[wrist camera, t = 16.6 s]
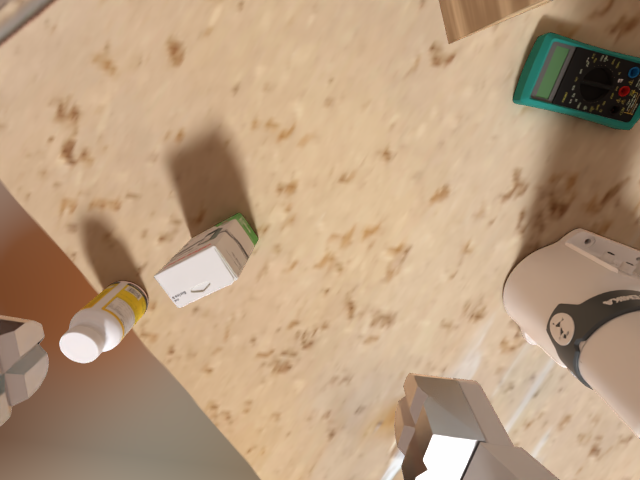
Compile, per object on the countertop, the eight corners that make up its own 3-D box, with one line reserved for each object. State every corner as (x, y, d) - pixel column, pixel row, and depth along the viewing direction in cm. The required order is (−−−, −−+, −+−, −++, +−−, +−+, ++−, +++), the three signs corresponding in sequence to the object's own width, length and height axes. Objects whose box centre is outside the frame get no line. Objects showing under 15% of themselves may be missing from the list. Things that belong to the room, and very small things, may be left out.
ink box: (241, 210, 47) (215, 242, 36) (260, 240, 49) (240, 280, 38) (189, 238, 49) (150, 277, 38) (210, 266, 51) (177, 311, 40)
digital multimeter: (619, 130, 43) (639, 132, 40) (507, 102, 42) (520, 102, 39) (653, 66, 40) (676, 63, 38) (534, 34, 39) (550, 29, 37)
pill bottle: (102, 304, 53) (45, 355, 43) (114, 271, 51) (57, 317, 40) (142, 322, 54) (96, 376, 44) (156, 291, 52) (112, 340, 41)
